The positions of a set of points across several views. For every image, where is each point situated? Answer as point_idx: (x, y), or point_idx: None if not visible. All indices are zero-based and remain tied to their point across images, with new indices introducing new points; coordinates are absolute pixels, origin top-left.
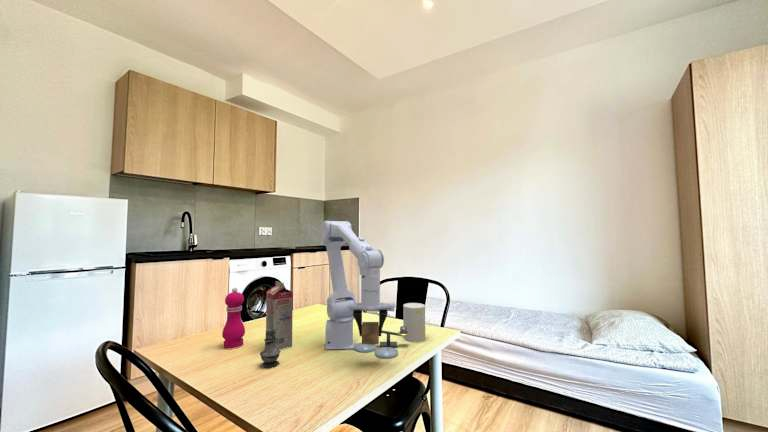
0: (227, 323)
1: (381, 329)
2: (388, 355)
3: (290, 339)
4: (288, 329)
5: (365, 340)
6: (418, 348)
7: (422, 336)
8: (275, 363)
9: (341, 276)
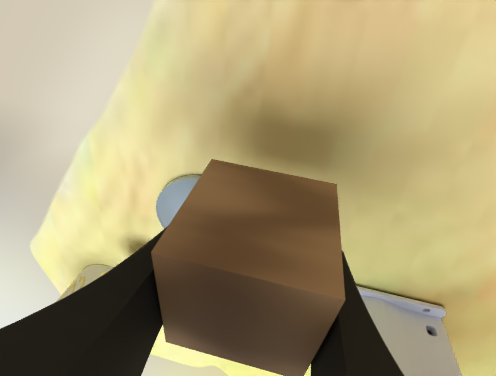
0: None
1: (148, 243)
2: (193, 185)
3: None
4: None
5: (306, 195)
6: (93, 223)
7: (79, 277)
8: None
9: None
